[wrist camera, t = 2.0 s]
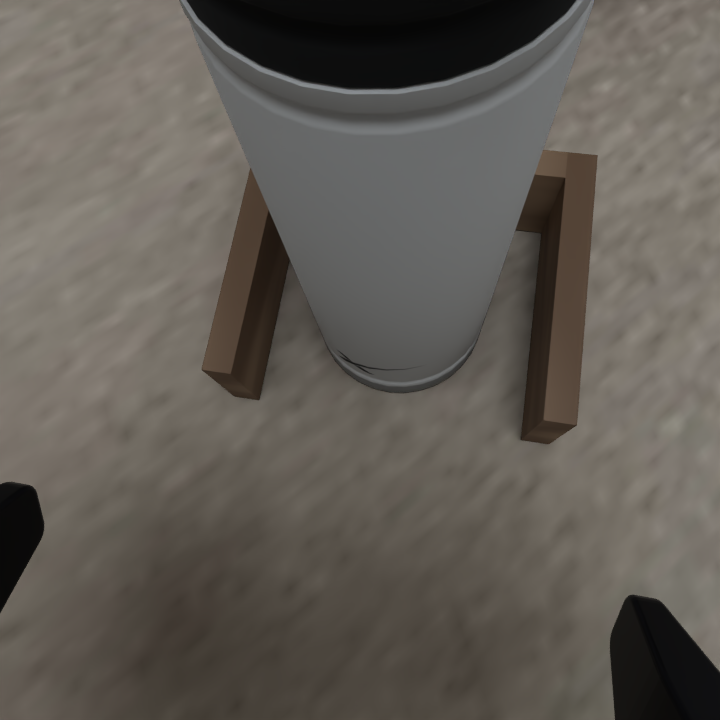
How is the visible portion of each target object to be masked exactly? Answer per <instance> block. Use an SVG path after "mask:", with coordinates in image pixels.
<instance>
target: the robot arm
mask: <svg viewBox="0 0 720 720" xmlns="http://www.w3.org/2000/svg"><path fill="white" fill-rule="evenodd" d="M43 532H44V520H43V516H42V512H41V508H40V503H39V499H38V495H37V492H36V490H35V489H34V488H33V486H30V485H26V484H21V483H15V482H5V483H2V484H0V613H1V611H2V609H3V607H4V605H5V604H6V602H7V600H8V598H9V596H10V595H11V593H12V591H13V589H14V587H15V586H16V584H17V582H18V580H19V578H20V577H21V575H22V573H23V571H24V569H25V568H26V566H27V564H28V562H29V560H30V559H31V557H32V555H33V553H34V551H35V550H36V548H37V546H38V544H39V542H40V540H41V538H42V536H43ZM610 657H611V670H612V684H613V698H614V711H615V720H720V672H719V670H718V669H717V668H716V667H715V666H714V664H713V663H712V662H711V661H710V660H709V658H708V657H707V656H706V655H705V654H704V652H703V651H702V650H701V649H700V648H699V646H698V645H697V644H696V643H695V641H694V640H693V639H692V638H691V637H690V635H689V634H688V633H687V632H686V631H685V629H684V628H683V627H682V626H681V625H680V623H679V622H678V621H677V620H676V618H675V617H674V616H673V615H672V614H671V612H670V611H669V610H668V609H667V608H666V606H665V605H664V604H663V603H662V602H660V601H659V600H657V599H654V598H649V597H643V596H638V595H629V596H628V597H627V598H626V599H625V601H624V603H623V605H622V608H621V610H620V613H619V615H618V618H617V620H616V622H615V625H614V627H613V630H612V633H611V638H610Z"/></svg>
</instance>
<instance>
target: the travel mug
mask: <svg viewBox="0 0 720 720" xmlns="http://www.w3.org/2000/svg"><path fill="white" fill-rule="evenodd" d="M179 1H180V3H181V6H182V8H183V10H184V13H185V15H186V16H187V18H188V19H189V21H190V23H191V26H192V29H193V32H194V35H195V38H196V41H197V43H198V46H199V48H200V50H201V53H202V55H203V57H204V60H205V62H206V64H207V67H208V69H209V71H210V74H211V76H212V78H213V81H214V83H215V85H216V88H217V90H218V92H219V95H220V97H221V99H222V102H223V104H224V106H225V109H226V111H227V113H228V116H229V118H230V120H231V123H232V125H233V127H234V130H235V132H236V134H237V137H238V139H239V141H240V144H241V146H242V149H243V151H244V153H245V156H246V158H247V160H248V163H249V165H250V167H251V170H252V172H253V174H254V177H255V179H256V181H257V184H258V186H259V188H260V191H261V193H262V195H263V198H264V200H265V202H266V205H267V207H268V209H269V212H270V214H271V216H272V219H273V221H274V223H275V226H276V228H277V230H278V233H279V235H280V237H281V240H282V242H283V244H284V247H285V249H286V251H287V254H288V256H289V258H290V261H291V263H292V266H293V268H294V270H295V273H296V275H297V277H298V280H299V282H300V284H301V287H302V289H303V291H304V294H305V296H306V298H307V301H308V303H309V305H310V308H311V310H312V312H313V315H314V317H315V319H316V322H317V324H318V326H319V329H320V331H321V333H322V335H323V338H324V340H325V343H326V345H327V347H328V349H329V351H330V353H331V354H332V356H333V358H334V359H335V361H336V362H337V363H338V364H339V365H340V366H341V368H342V369H343V370H344V371H345V372H346V373H347V374H349V375H350V376H352V377H353V378H354V379H356V380H357V381H359V382H361V383H363V384H365V385H367V386H370V387H372V388H374V389H379V390H383V391H387V392H404V393H406V392H412V391H419V390H423V389H426V388H429V387H431V386H434V385H437V384H439V383H440V382H442V381H444V380H445V379H447V378H449V377H450V376H451V375H453V374H454V373H455V372H456V371H457V370H458V369H459V368H460V367H461V366H462V365H463V364H464V363H465V361H466V360H467V358H468V357H469V356H470V354H471V353H472V351H473V348H474V346H475V344H476V342H477V340H478V337H479V334H480V331H481V327H482V325H483V322H484V319H485V317H486V314H487V311H488V308H489V305H490V302H491V299H492V296H493V293H494V290H495V288H496V285H497V282H498V279H499V276H500V273H501V270H502V267H503V264H504V261H505V259H506V256H507V253H508V250H509V247H510V244H511V241H512V238H513V235H514V232H515V230H516V227H517V224H518V221H519V218H520V215H521V212H522V209H523V206H524V203H525V201H526V198H527V195H528V192H529V189H530V186H531V183H532V180H533V177H534V175H535V172H536V169H537V166H538V163H539V160H540V157H541V154H542V151H543V148H544V146H545V143H546V140H547V137H548V134H549V131H550V128H551V125H552V122H553V119H554V117H555V114H556V111H557V108H558V105H559V102H560V99H561V96H562V93H563V90H564V88H565V85H566V82H567V79H568V76H569V73H570V70H571V67H572V64H573V61H574V59H575V56H576V53H577V50H578V47H579V44H580V41H581V38H582V35H583V32H584V30H585V27H586V24H587V21H588V18H589V15H590V12H591V9H592V6H593V4H594V0H179Z"/></svg>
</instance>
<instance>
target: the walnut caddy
mask: <svg viewBox="0 0 720 720" xmlns="http://www.w3.org/2000/svg"><path fill="white" fill-rule="evenodd" d="M597 156H598V155H589V154H579V153H569V152H558V151H548V150H543V151H542V154H541V157H540V160H539V163H538V166H537V169H536V172H535V175H534V177H533V180H532V183H531V186H530V189H529V192H528V195H527V198H526V201H525V203H524V206H523V209H522V212H521V215H520V218H519V221H518V224H517V227H516V230H521V231H530V232H539V233H542V234H541V244H540V254H539V264H538V274H537V284H536V294H535V304H534V314H533V324H532V334H531V344H530V354H529V364H528V374H527V384H526V394H525V404H524V414H523V424H522V434H521V440H524V441H531V442H538V443H544V444H550V443H551V442H553V441H554V440H556V439H557V438H559V437H560V436H561V435H563V434H564V433H566V432H567V431H569V430H570V429H572V428H573V427H575V426H576V425H577V417H578V404H579V391H580V378H581V365H582V352H583V339H584V326H585V313H586V299H587V286H588V273H589V260H590V247H591V234H592V221H593V208H594V195H595V182H596V169H597ZM289 259H290V258H289V256H288V254H287V251H286V249H285V247H284V244H283V242H282V240H281V237H280V235H279V233H278V230H277V228H276V226H275V223H274V221H273V219H272V216H271V214H270V212H269V209H268V207H267V205H266V202H265V200H264V198H263V195H262V193H261V191H260V188H259V186H258V184H257V181H256V179H255V177H254V174H253V172H252V170H251V168H250V172H249V176H248V180H247V184H246V189H245V193H244V197H243V201H242V205H241V209H240V213H239V217H238V221H237V226H236V230H235V234H234V238H233V242H232V246H231V250H230V254H229V258H228V263H227V267H226V271H225V275H224V279H223V283H222V287H221V291H220V296H219V300H218V304H217V308H216V312H215V316H214V320H213V324H212V328H211V333H210V337H209V341H208V345H207V349H206V353H205V357H204V361H203V365H202V370H203V371H204V372H205V373H206V374H208V375H209V376H210V377H211V378H212V379H214V380H215V381H216V382H217V383H219V384H220V385H221V386H222V387H224V388H225V389H226V390H227V391H228V392H230V393H231V394H232V395H233V396H235V397H242V398H249V399H255V400H259V399H260V394H261V389H262V385H263V380H264V375H265V371H266V366H267V361H268V357H269V352H270V348H271V343H272V338H273V334H274V329H275V324H276V320H277V315H278V310H279V306H280V301H281V296H282V292H283V287H284V282H285V278H286V273H287V268H288V264H289Z"/></svg>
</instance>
